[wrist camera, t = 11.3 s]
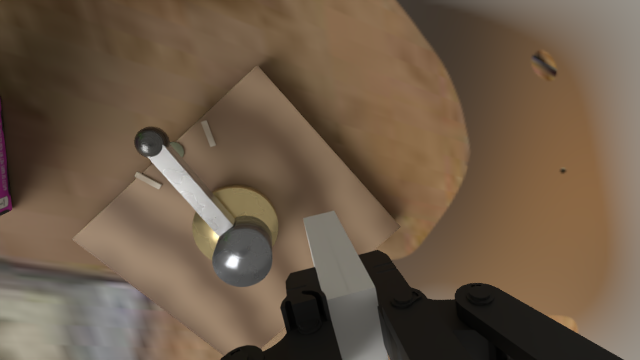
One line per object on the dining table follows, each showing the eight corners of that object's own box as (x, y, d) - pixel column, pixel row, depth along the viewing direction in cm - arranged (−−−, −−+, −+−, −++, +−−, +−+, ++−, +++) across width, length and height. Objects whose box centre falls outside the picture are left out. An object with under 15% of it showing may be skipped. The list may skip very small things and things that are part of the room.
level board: (240, 354, 41) (238, 368, 39) (79, 228, 35) (67, 237, 32) (394, 220, 39) (401, 227, 37) (255, 63, 33) (254, 61, 31)
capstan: (293, 229, 35) (298, 254, 30) (230, 274, 36) (223, 307, 30) (189, 99, 31) (172, 101, 25) (117, 152, 31) (86, 165, 26)
